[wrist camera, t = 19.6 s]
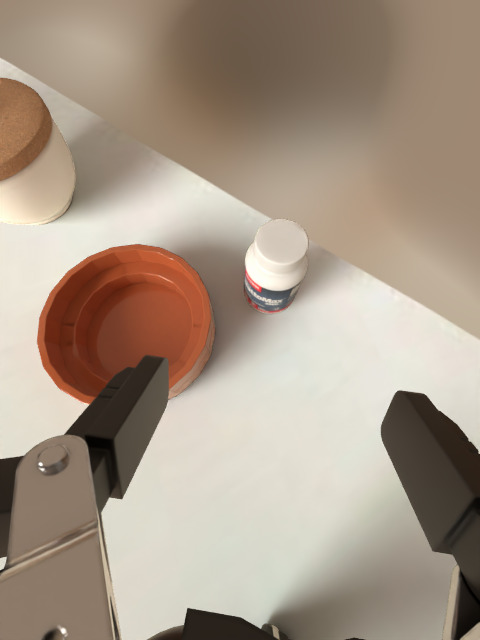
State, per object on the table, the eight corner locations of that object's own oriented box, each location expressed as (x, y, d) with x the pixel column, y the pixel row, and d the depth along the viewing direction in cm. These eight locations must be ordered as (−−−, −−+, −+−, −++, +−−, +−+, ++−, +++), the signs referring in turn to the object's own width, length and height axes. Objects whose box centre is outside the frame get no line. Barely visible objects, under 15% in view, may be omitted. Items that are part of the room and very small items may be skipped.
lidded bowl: (79, 249, 30) (-6, 161, 20) (-31, 241, 31) (-172, 152, 20) (106, 163, 34) (48, 53, 24) (9, 157, 35) (-91, 46, 24)
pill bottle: (234, 299, 28) (231, 251, 20) (259, 261, 30) (266, 200, 21) (280, 324, 27) (298, 284, 19) (303, 283, 29) (328, 229, 20)
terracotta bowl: (39, 362, 26) (-1, 352, 22) (126, 249, 30) (107, 222, 26) (164, 438, 24) (147, 443, 20) (240, 304, 28) (240, 285, 24)
